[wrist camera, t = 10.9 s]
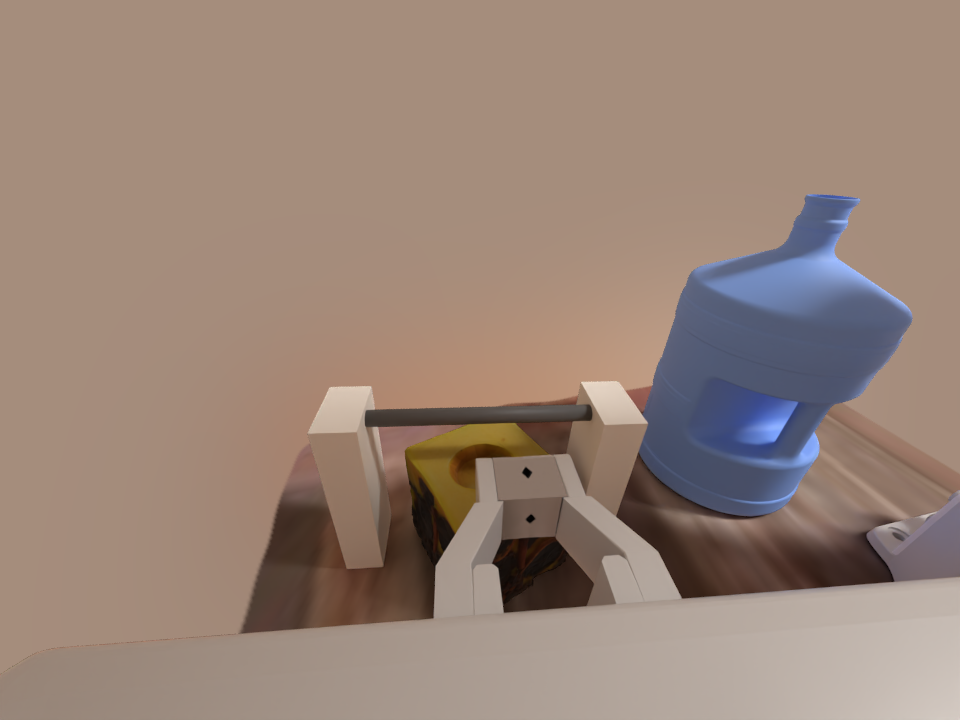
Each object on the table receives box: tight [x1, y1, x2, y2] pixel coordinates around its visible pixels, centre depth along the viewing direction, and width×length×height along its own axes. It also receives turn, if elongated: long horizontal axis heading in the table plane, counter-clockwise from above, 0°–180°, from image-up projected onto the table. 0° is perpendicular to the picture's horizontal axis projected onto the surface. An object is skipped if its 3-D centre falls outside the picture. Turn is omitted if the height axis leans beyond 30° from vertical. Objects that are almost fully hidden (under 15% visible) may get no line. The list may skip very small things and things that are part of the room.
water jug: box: [639, 194, 912, 516], centre depth 34 cm, size 16×16×28 cm
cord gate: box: [307, 381, 648, 569], centre depth 29 cm, size 22×5×15 cm, turn 94°
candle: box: [405, 423, 567, 604], centre depth 30 cm, size 10×10×10 cm
